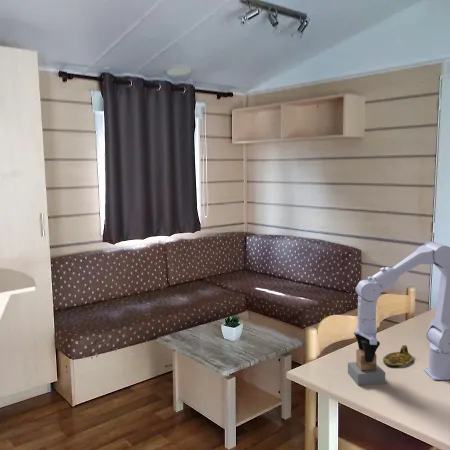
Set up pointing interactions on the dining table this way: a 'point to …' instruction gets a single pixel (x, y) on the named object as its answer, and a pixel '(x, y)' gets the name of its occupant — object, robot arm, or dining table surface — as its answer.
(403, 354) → the seal
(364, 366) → the walnut cube
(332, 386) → the dining table surface
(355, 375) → the grey block
